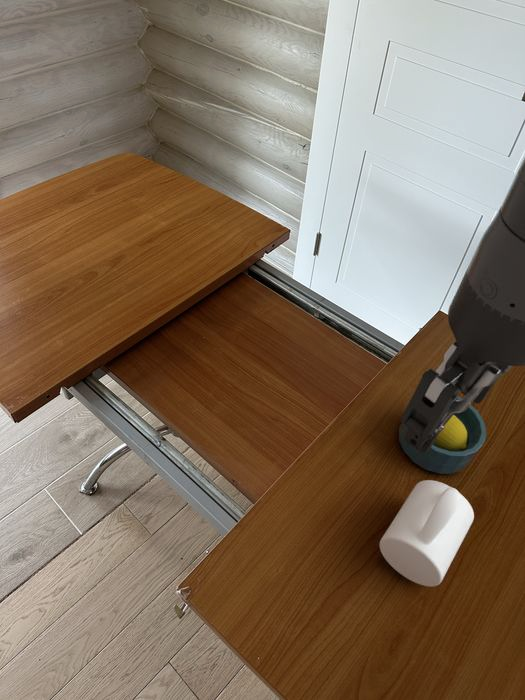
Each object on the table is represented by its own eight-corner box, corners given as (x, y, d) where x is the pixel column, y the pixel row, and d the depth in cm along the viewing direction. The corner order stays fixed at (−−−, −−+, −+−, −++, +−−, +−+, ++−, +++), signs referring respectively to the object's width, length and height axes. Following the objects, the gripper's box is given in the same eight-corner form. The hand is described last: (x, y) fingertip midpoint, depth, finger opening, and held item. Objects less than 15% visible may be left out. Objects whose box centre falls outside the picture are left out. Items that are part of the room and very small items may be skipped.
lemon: (407, 431, 81) (448, 467, 77) (415, 413, 77) (459, 450, 73) (429, 412, 83) (470, 446, 79) (438, 393, 79) (482, 428, 75)
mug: (372, 553, 68) (396, 514, 59) (407, 497, 74) (434, 454, 65) (428, 595, 65) (462, 561, 56) (461, 534, 71) (496, 494, 62)
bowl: (484, 447, 81) (500, 426, 76) (442, 491, 75) (457, 470, 71) (425, 401, 86) (437, 379, 82) (382, 439, 80) (392, 417, 76)
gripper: (520, 364, 30) (431, 495, 42) (623, 271, 36) (521, 406, 48) (416, 294, 33) (362, 433, 45) (527, 221, 40) (454, 358, 52)
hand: (444, 419), depth 47 cm, fingers open, 8 cm apart
